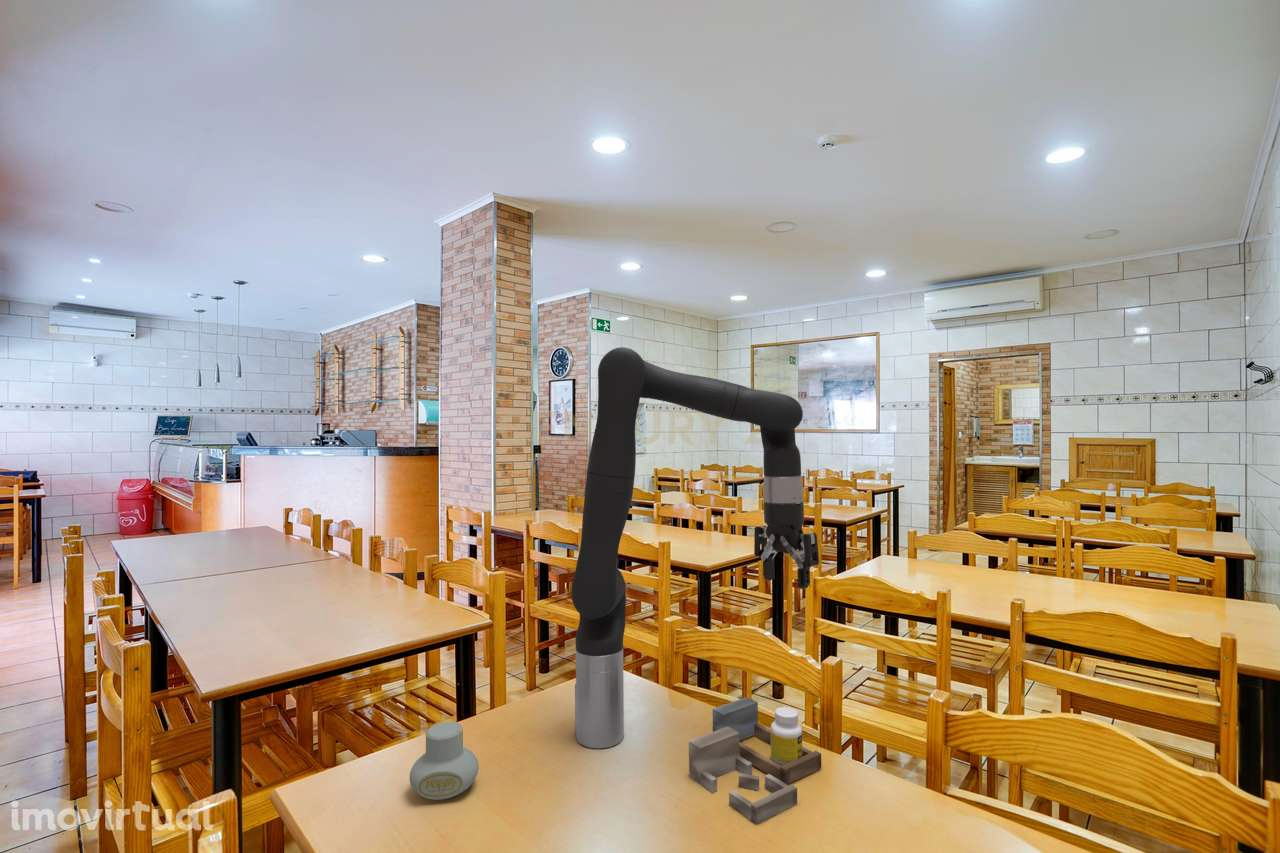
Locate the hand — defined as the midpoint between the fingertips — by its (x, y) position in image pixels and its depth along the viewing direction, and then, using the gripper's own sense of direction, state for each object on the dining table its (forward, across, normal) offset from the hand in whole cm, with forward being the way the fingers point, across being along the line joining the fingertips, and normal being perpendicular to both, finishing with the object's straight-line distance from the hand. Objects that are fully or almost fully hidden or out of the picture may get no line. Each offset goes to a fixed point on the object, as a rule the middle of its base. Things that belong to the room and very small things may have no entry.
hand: (786, 583), depth 118 cm
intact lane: (+30, +1, -8) cm, 31 cm away
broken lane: (+29, +7, -20) cm, 36 cm away
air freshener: (+29, -22, -60) cm, 70 cm away
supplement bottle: (+30, +6, -8) cm, 32 cm away
